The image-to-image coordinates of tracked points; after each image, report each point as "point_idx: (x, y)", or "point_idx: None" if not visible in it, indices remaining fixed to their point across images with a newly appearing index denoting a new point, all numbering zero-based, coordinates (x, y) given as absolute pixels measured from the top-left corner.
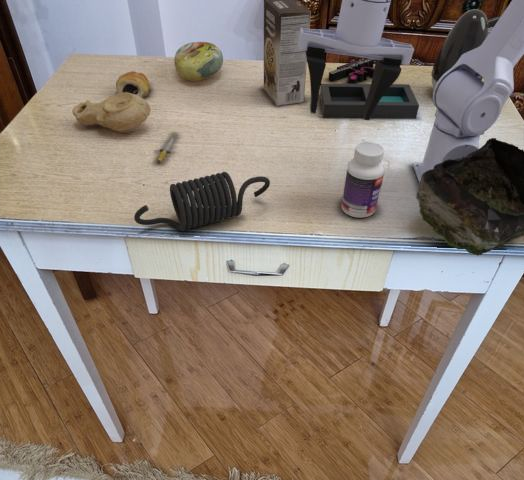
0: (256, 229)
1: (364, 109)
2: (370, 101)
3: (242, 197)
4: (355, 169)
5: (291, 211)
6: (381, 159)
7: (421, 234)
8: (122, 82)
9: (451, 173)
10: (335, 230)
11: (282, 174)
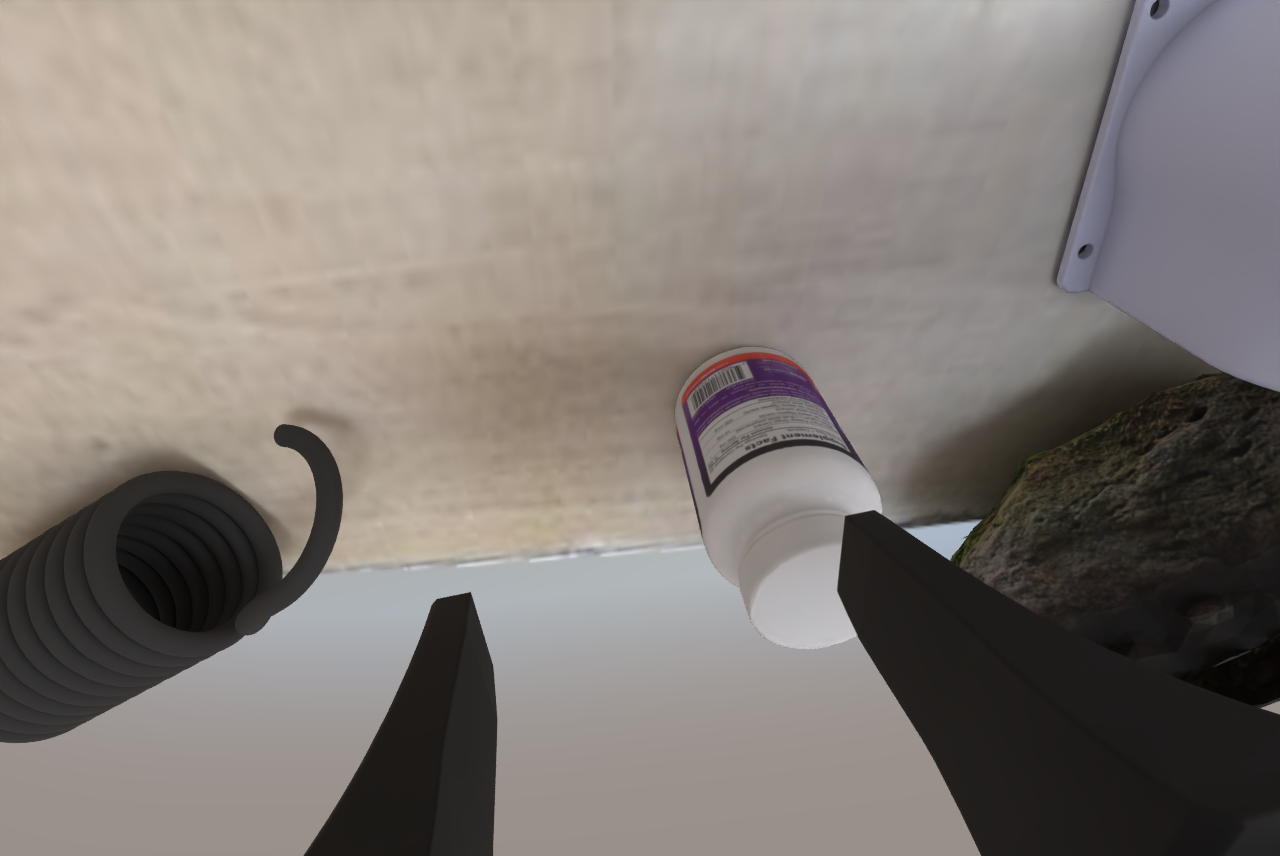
0: (367, 557)
1: (861, 557)
2: (905, 688)
3: (266, 622)
4: (736, 585)
5: (471, 453)
6: None
7: (936, 503)
8: None
9: (1192, 441)
10: (647, 524)
11: (352, 166)
